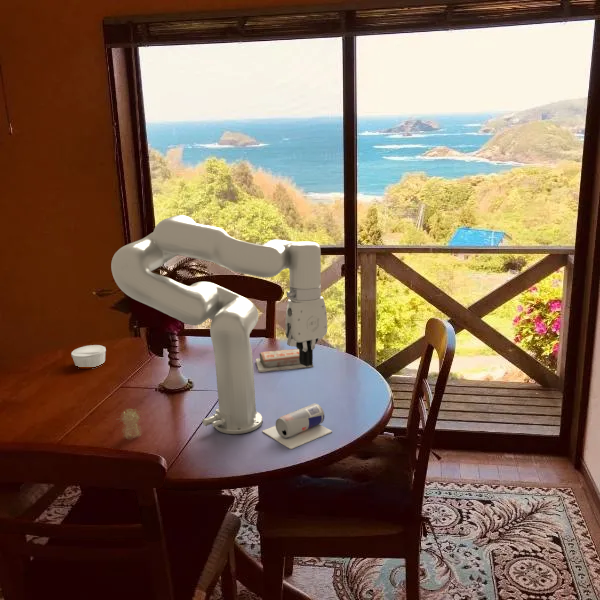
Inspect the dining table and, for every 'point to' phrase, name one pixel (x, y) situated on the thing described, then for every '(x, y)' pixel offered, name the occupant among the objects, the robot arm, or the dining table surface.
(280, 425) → the energy drink
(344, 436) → the dining table surface
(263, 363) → the packaged product
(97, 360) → the ramekin
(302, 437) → the mat
